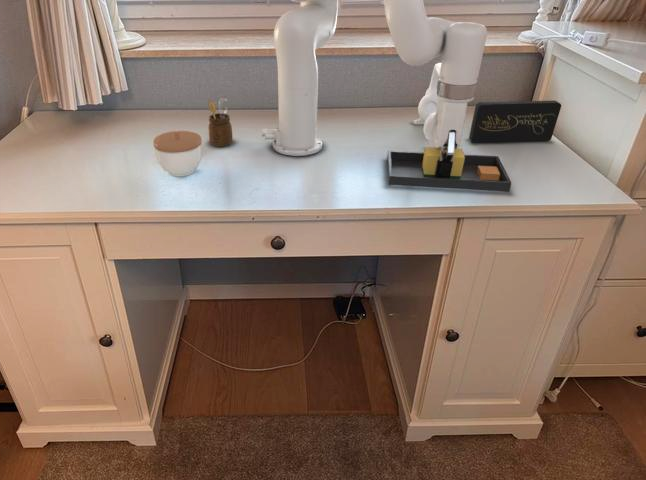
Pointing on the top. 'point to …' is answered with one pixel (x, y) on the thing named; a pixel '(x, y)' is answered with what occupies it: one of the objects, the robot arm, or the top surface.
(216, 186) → the top surface
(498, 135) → the nameplate
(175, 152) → the trinket box
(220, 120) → the utensil holder
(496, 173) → the orange square block
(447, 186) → the black shallow rectangular tray
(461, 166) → the sponge
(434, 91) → the headset
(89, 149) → the top surface
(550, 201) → the top surface
